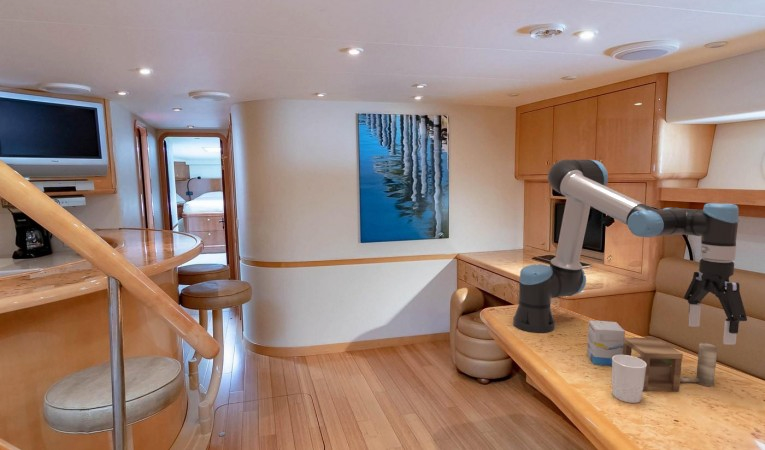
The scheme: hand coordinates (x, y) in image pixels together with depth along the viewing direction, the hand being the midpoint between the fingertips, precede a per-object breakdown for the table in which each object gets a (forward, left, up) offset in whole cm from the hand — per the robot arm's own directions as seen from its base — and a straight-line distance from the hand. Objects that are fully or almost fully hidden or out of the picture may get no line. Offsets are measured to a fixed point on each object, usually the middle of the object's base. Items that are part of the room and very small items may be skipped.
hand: (710, 334), depth 119 cm
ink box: (-14, -22, -15) cm, 30 cm away
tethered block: (0, -8, -14) cm, 16 cm away
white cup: (+8, -26, -15) cm, 31 cm away
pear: (-16, -4, -15) cm, 22 cm away
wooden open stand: (0, -16, -14) cm, 21 cm away
